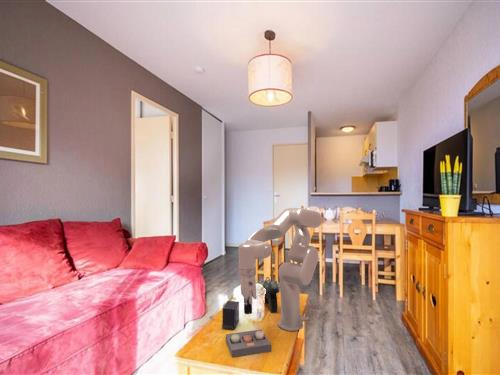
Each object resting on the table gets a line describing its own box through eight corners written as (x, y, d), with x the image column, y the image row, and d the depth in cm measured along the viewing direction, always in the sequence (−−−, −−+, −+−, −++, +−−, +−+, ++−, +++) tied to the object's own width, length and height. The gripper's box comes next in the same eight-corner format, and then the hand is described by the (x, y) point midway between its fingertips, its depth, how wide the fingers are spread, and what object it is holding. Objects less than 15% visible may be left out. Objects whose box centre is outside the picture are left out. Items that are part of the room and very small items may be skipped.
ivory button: (262, 336, 127) (262, 330, 127) (264, 339, 123) (264, 334, 123) (254, 337, 126) (254, 331, 126) (256, 341, 122) (256, 335, 123)
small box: (234, 330, 138) (234, 308, 138) (221, 329, 139) (221, 307, 139) (239, 321, 148) (239, 301, 148) (227, 320, 149) (227, 300, 150)
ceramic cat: (280, 313, 157) (279, 277, 158) (269, 314, 156) (268, 278, 157) (269, 301, 177) (269, 269, 178) (259, 302, 175) (259, 269, 176)
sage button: (238, 339, 124) (238, 333, 124) (240, 343, 120) (240, 337, 121) (230, 340, 123) (230, 334, 123) (232, 344, 120) (232, 338, 120)
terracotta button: (250, 340, 125) (250, 334, 125) (252, 344, 122) (252, 338, 122) (242, 341, 124) (242, 335, 124) (244, 345, 121) (244, 339, 121)
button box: (261, 335, 132) (261, 328, 132) (271, 351, 119) (271, 343, 119) (225, 340, 128) (225, 333, 128) (231, 357, 114) (231, 349, 114)
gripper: (260, 275, 118) (261, 319, 118) (251, 266, 133) (251, 305, 132) (243, 277, 116) (244, 321, 116) (235, 268, 131) (236, 307, 130)
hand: (248, 313), depth 124 cm, fingers closed
